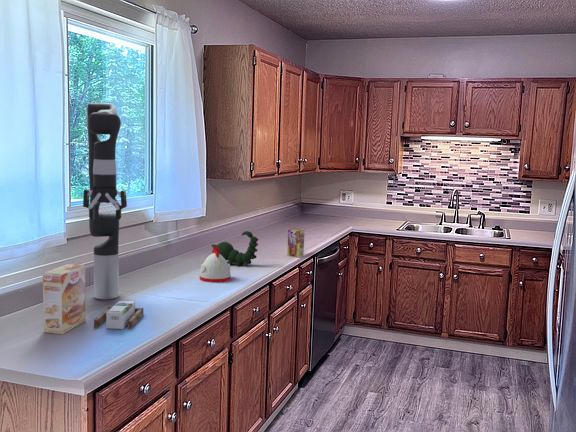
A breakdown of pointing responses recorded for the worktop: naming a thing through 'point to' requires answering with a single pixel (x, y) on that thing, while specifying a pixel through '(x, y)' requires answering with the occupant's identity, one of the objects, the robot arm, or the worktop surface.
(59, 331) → the coffeecake box
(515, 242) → the worktop surface
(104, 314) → the walnut U-rest
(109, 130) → the robot arm
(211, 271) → the kitchen timer
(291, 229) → the candy box
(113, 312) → the syrup box
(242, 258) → the toy figurine
